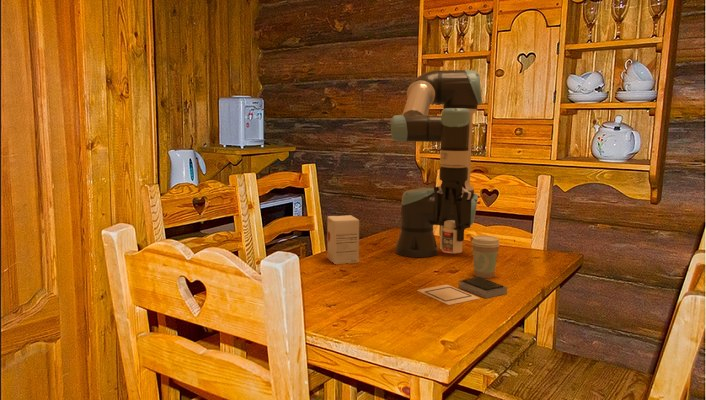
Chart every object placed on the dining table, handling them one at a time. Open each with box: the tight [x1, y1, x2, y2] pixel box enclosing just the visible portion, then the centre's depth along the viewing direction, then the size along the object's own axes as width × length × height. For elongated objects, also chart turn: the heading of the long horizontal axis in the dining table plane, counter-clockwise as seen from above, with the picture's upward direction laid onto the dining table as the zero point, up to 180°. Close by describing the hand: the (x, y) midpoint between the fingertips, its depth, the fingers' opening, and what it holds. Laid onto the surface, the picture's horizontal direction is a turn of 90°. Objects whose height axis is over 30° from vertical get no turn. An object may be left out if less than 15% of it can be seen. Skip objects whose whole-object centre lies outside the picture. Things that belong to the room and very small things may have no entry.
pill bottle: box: [441, 220, 456, 254], centre depth 153 cm, size 5×5×8 cm
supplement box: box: [326, 214, 360, 265], centre depth 190 cm, size 9×9×15 cm
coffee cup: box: [471, 235, 501, 279], centre depth 173 cm, size 8×8×12 cm
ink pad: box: [458, 277, 508, 299], centre depth 159 cm, size 11×8×2 cm
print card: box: [416, 284, 481, 306], centre depth 156 cm, size 14×11×1 cm
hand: (450, 250), depth 154 cm, fingers closed on pill bottle, 5 cm apart
